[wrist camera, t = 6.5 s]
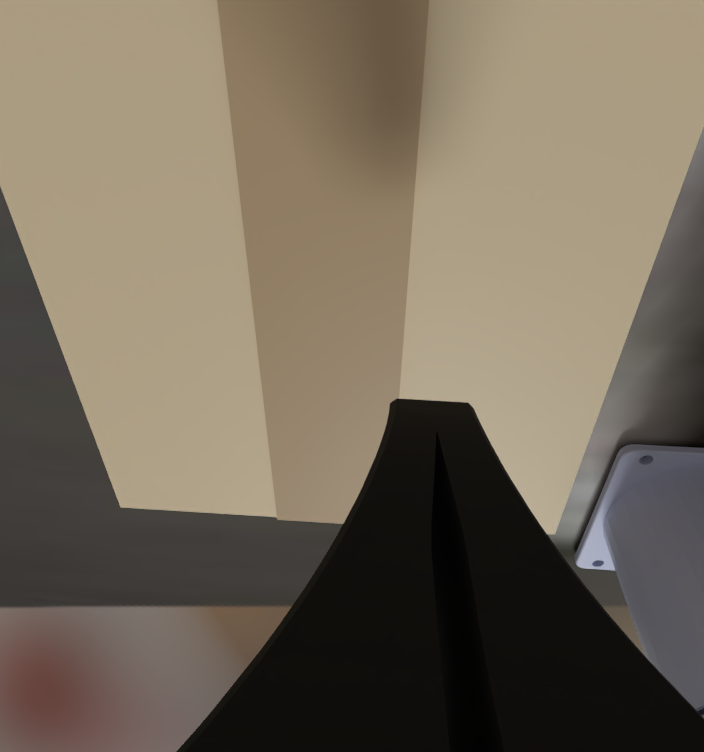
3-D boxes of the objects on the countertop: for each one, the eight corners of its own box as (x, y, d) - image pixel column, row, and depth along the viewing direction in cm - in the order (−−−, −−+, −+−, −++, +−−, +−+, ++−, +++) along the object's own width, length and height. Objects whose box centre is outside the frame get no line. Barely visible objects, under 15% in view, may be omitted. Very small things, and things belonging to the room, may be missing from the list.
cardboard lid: (759, -81, 9) (782, -82, 8) (550, 519, 18) (555, 537, 17) (-77, -86, 10) (-107, -88, 9) (127, 493, 19) (119, 509, 18)
